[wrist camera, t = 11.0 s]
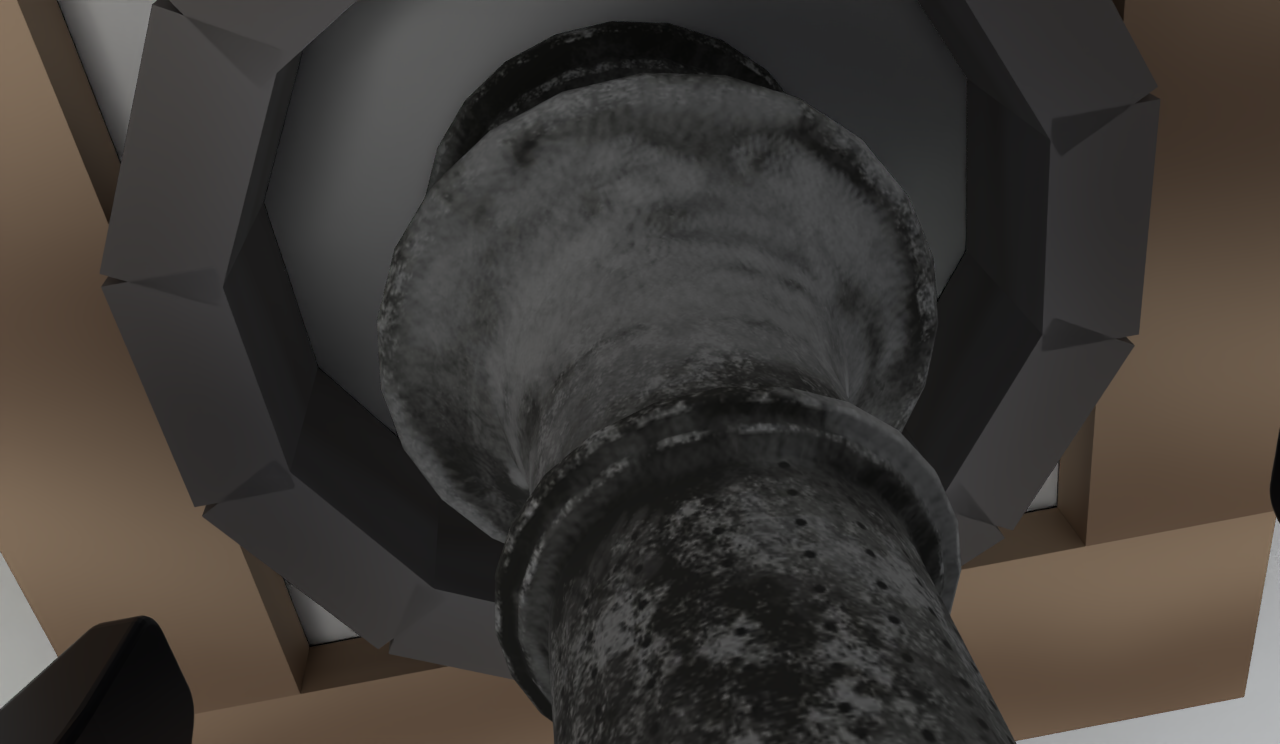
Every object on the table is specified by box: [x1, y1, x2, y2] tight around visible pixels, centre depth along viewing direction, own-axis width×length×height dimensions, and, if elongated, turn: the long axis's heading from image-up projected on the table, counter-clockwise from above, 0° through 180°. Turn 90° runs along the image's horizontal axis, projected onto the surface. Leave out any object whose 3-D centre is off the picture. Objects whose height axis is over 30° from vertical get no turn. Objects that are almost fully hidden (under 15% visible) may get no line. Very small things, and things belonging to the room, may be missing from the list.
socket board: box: [0, 0, 1280, 744], centre depth 14 cm, size 20×18×2 cm
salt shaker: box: [377, 21, 1016, 744], centre depth 10 cm, size 6×6×12 cm
